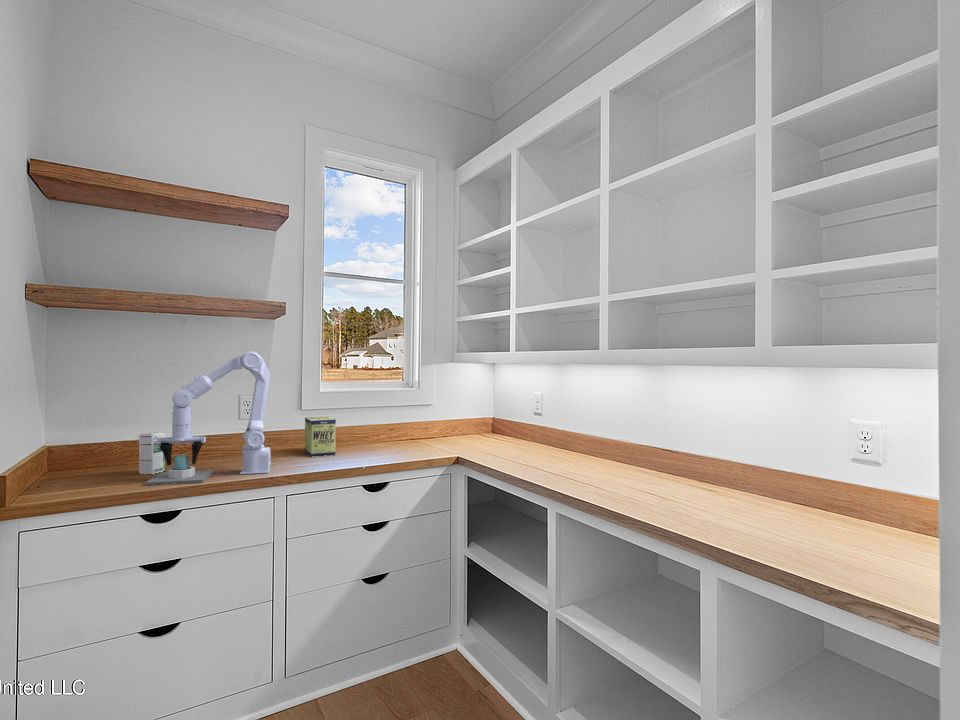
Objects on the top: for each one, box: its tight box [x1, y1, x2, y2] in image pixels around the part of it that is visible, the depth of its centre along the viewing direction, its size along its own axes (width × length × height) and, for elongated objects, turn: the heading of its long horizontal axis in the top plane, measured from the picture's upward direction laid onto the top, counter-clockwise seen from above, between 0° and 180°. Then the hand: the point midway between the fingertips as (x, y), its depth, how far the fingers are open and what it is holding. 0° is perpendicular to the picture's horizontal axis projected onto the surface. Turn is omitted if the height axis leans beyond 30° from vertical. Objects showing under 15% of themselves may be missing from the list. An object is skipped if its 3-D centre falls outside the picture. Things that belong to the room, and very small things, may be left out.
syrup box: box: [138, 431, 166, 475], centre depth 186 cm, size 6×6×14 cm
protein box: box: [304, 416, 337, 458], centre depth 227 cm, size 10×16×16 cm
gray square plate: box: [144, 466, 215, 486], centre depth 177 cm, size 17×16×4 cm
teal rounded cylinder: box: [173, 454, 190, 470], centre depth 176 cm, size 4×4×7 cm
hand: (181, 464), depth 177 cm, fingers open, 7 cm apart
